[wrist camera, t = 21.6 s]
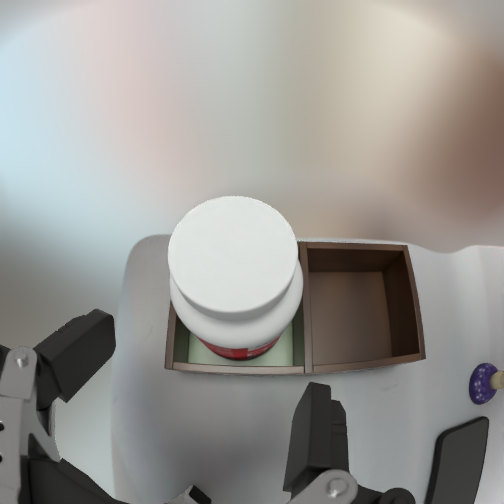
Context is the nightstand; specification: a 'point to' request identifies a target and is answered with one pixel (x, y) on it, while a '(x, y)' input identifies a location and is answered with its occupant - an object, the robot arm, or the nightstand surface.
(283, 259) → the pill bottle
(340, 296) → the storage box
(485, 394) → the toy lamp
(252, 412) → the nightstand surface
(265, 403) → the nightstand surface
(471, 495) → the smartphone
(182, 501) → the smartwatch
